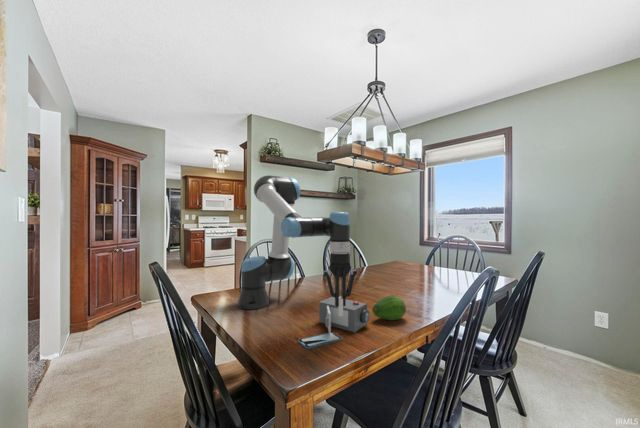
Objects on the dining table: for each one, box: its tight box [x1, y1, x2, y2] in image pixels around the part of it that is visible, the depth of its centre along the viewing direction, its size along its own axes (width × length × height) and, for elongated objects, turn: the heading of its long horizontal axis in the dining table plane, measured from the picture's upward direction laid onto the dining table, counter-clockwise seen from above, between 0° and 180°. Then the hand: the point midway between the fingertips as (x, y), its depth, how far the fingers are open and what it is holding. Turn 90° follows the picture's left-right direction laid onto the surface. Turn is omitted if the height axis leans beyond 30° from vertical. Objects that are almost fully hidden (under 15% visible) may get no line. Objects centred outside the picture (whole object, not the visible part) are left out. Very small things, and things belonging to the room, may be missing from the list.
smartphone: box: [297, 331, 343, 350], centre depth 100 cm, size 7×1×15 cm
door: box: [325, 305, 332, 333], centre depth 109 cm, size 10×2×7 cm, turn 3°
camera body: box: [318, 296, 370, 333], centre depth 116 cm, size 19×10×9 cm, turn 53°
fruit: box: [371, 295, 407, 321], centre depth 120 cm, size 15×10×10 cm, turn 107°
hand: (340, 314), depth 107 cm, fingers closed
